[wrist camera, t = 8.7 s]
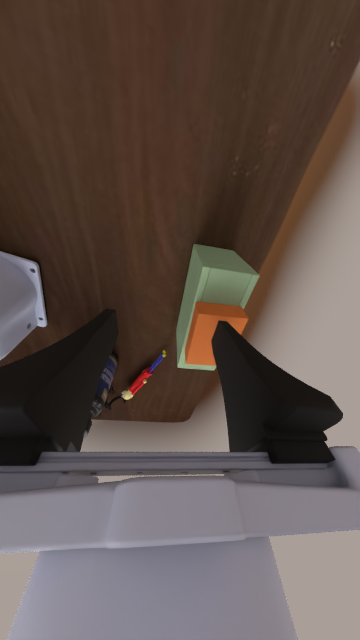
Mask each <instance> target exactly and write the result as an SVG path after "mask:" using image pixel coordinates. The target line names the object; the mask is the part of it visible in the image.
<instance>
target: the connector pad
mask: <svg viewBox="0 0 360 640" xmlns="http://www.w3.org/2000/svg"><path fill="white" fill-rule="evenodd" d="M219 320H221V321H227V322H228V323H229V324H230V325H231V326H232V327H233V328H234V329H235V330H236V331H237V332H238V333H239V334H240V335H241V333H242V331H243V329H244V327H245V325H246V323H247V321H248V317H247V315H246V313H245V312H244V310H243V308H242V307H241V306H233V305H224V304H215V303H206V302H196V304H195V308H194V313H193V317H192V321H191V325H190V330H189V334H188V338H187V343H186V347H185V361H186V364H195V365H211V366H216V363H215V359H214V356H213V351H212V343H211V340H212V337H213V334H214V332H215V329H216V326H217V324H218V321H219Z"/></svg>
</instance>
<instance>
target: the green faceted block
mask: <svg viewBox="0 0 360 640" xmlns="http://www.w3.org/2000/svg"><path fill="white" fill-rule="evenodd" d="M258 278H259V274H258V273H256V272H255V271H254V270H253V269H252V268H251V267H250V266H249V265H248V264H247V263H246V262H245V261H244V260H243V259H242V258H241V257H240V256H238V255H237V254H236V253H235V252H234V251H232V250H227V249H221V248H215V247H210V246H204V245H198V244H194V245H193V250H192V255H191V260H190V265H189V270H188V274H187V279H186V284H185V289H184V294H183V299H182V304H181V309H180V314H179V319H178V324H177V367H178V368H182V367H183V368H189V369H202V370H215V368H216V366H211V365H195V364H186V361H185V347H186V343H187V338H188V334H189V330H190V325H191V321H192V317H193V313H194V308H195V304H196V302H206V303H215V304H224V305H233V306H241V307H242V308H243V310H244V307H245V305H246V303H247V301H248V299H249V297H250V295H251V293H252V291H253V289H254V286H255V284H256V282H257V280H258Z"/></svg>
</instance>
